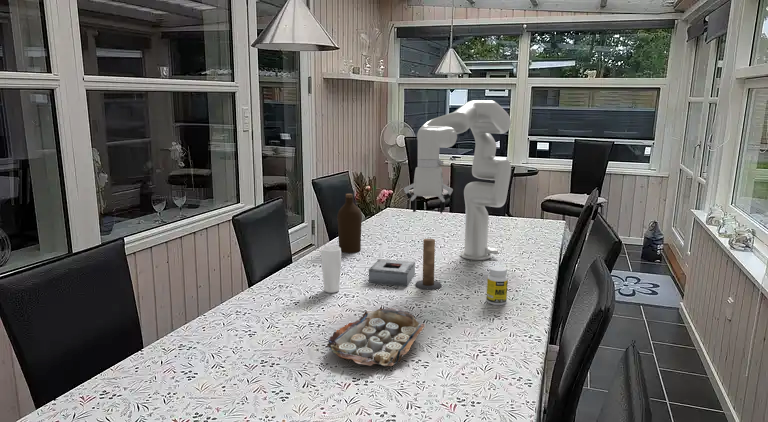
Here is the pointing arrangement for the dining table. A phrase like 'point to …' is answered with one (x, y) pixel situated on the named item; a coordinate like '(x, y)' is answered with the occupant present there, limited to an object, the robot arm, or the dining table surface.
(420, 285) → the coaster
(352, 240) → the olive oil
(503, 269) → the supplement bottle
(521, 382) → the dining table surface
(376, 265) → the grey square holed block
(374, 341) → the baking tray
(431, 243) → the tan wooden rod
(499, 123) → the robot arm
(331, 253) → the drinking glass
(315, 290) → the dining table surface
